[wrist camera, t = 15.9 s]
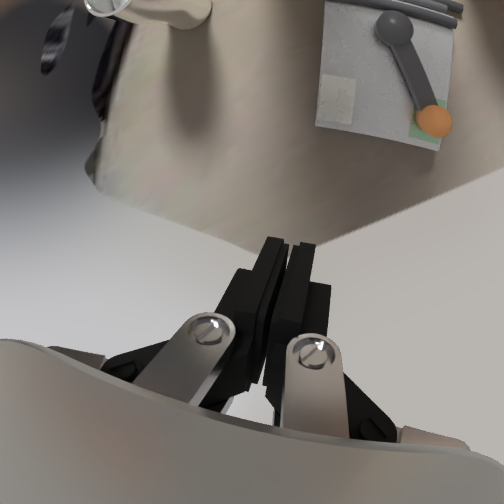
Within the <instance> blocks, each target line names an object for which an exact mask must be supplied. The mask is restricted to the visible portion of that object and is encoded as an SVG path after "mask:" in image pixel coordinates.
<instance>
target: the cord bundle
mask: <svg viewBox="0 0 504 504" xmlns="http://www.w3.org/2000/svg"><path fill="white" fill-rule="evenodd" d="M334 1H342V2H349V3H355V4H361V5H367V6H372V7H377V8H382V9H387V10H395V11H399V12H401V13H404V14H408V15H412V16H415V17H419V18H422V19H426V20H429V21H432V22H436V23H439V24H442V25H445V26H448V27H451V28H454V29H456V27H457V20H456V19H454V18H451V17H448V16H445V15H442V14H439V13H436V12H433V11H430V10H426V9H423V8H419V7H416V6H412V5H408V4H404V3H400V2H396V1H392V0H334ZM401 1H405V2H409V3H412V4H416V5H420V6H423V7H426V8H430V9H433V10H436V11H439V12H442V13H445V14H446V13H447V8H448V9H451V10H454V11H456V12H459V13H462V12H463V5H462V4H460V3H457V2H454V1H451V0H401Z"/></svg>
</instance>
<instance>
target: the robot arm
mask: <svg viewBox="0 0 504 504" xmlns="http://www.w3.org/2000/svg"><path fill="white" fill-rule="evenodd" d="M315 247H316V245H315V244H309V243H303V242H300V246H297V245H293V249H292V252H291V255H290V259H289V262H288V266H287V269H286V265H287V257H288V249H289V244H285V243H284V239H281V238H275V237H269V236H268V237H267V239H266V241H265V244H264V246H263V248H262V250H261V252H260V254H259V256H258V259H257V261H256V263H255V265H254V267H253V269H252V270H246V269H241V268H239V269H238V270H237V271H236V273H235V275H234V277H233V278H232V280H231V282H230V284H229V286H228V288H227V290H226V291H225V293H224V295H223V297H222V299H221V301H220V303H219V304H218V306H217V308H216V310H215V312H214V313H208V312H205V313H200V314H197V315H195V316H192V317H191V318H189V319H188V320H187V321H186V322H185V323H184V324H183V325H182V327H181V328H180V329H179V330H178V331H177V332H176V333H175V334H174V335H173V337H172V338H171V339H170V340H167V341H164V342H161V343H157V344H154V345H150V346H147V347H144V348H140V349H137V350H133V351H130V352H127V353H123V354H120V355H117V356H114V357H112V358H110V359H106V358H105V355H99V354H93V353H88V352H83V351H78V350H73V349H68V348H63V347H58V346H50V347H44V346H41V345H38V344H35V343H31V342H27V341H23V340H15V339H0V504H504V466H503V465H502V464H501V463H499V462H498V461H496V460H494V459H492V458H490V457H487V456H485V455H482V454H479V453H477V452H473V451H471V450H470V448H469V447H468V446H467V444H465V442H463V441H461V440H458V439H455V438H451V437H446V436H442V435H438V434H434V433H431V432H426V431H423V430H419V429H416V428H412V427H409V426H404V427H403V428H399V427H396V426H395V425H394V423H393V422H392V420H391V419H390V418H389V417H388V416H387V415H386V414H385V413H384V412H383V411H382V410H381V409H380V408H379V407H378V406H377V405H376V404H375V403H374V402H373V401H372V400H371V399H370V398H369V397H368V396H367V395H366V394H365V393H363V392H362V390H361V389H360V388H359V387H358V386H357V385H355V383H354V382H353V381H351V380H350V378H349V377H348V376H347V375H346V374H344V372H343V366H342V358H341V353H340V350H339V348H338V346H337V345H336V344H335V342H333V341H332V340H330V339H329V338H327V328H328V318H329V307H330V297H331V285H327V284H322V283H316V282H310V275H311V270H312V264H313V259H314V253H315ZM265 359H266V363H265V370H264V377H263V386H267V389H266V395H265V397H266V398H267V399H268V401H269V402H270V403H271V404H272V406H273V407H274V412H273V422H272V426H271V425H266V424H262V423H257V422H253V421H249V420H245V419H241V418H237V417H233V416H229V415H225V414H226V412H227V410H228V409H229V407H230V405H231V404H232V401H233V399H234V396H235V395H238V394H240V393H242V392H244V391H247V392H248V391H249V389H250V386H251V383H254V384H257V383H258V381H259V378H260V374H261V371H262V368H263V365H264V362H265Z"/></svg>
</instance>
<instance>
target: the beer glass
mask: <svg viewBox="0 0 504 504" xmlns="http://www.w3.org/2000/svg"><path fill="white" fill-rule="evenodd" d="M84 3H85V6H86V8H87V10H88V11H89V12H90V13H91V14H93V15H95V16H98V17H105V18H108V19H112V20H116V21H121V22H126V23H134V24H152V23H168V24H169V25H171V26H172V27H174V28H177V29H180V30H189V29H193V28H195V27H197V26H199V25H200V24H202V23H203V22H204V21H205V20H206V19H207V17H208V16H209V14H210V11H211V7H212V2H211V0H84Z"/></svg>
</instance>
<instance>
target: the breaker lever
mask: <svg viewBox="0 0 504 504" xmlns="http://www.w3.org/2000/svg"><path fill="white" fill-rule="evenodd" d="M375 33H376V35H377V37H378V38H379V40H380V41H382V42H383V43H384V44H386V45H388V46H390V47H391V49H392V52H393V54H394V56H395V58H396V60H397V62H398V64H399V67H400V69H401V71H402V73H403V76H404V78H405V80H406V83H407V85H408V87H409V90H410V92H411V95H412V97H413V100H414V102H415V105H416V108H417V112H416V123H417V125H418V127H419V128H420V129H421V130H422V131H424V132H426V133H427V134H429V135H431V136H433V137H436V138H442V137H445V136H446V135H447V134H448V133H449V132H450V130H451V128H452V119H451V116H450V114H449V112H448V111H447V110H446V109H444V108H443V107H440V106H438V103H437V101H436V98H435V95H434V93H433V90H432V87H431V85H430V82H429V80H428V77H427V75H426V72H425V70H424V68H423V65H422V63H421V61H420V59H419V56H418V54H417V52H416V50H415V48H414V46H413V43H412V41H411V38H412V36H413V33H414V28H413V24H412V22H411V21H410V19H409V18H408V17H407V16H406V15H405V14H403V13H401V12H399V11H395V10H389V11H386V12H384V13H382V14H381V15H380V16H379V18H378V20H377V21H376V23H375Z"/></svg>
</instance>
